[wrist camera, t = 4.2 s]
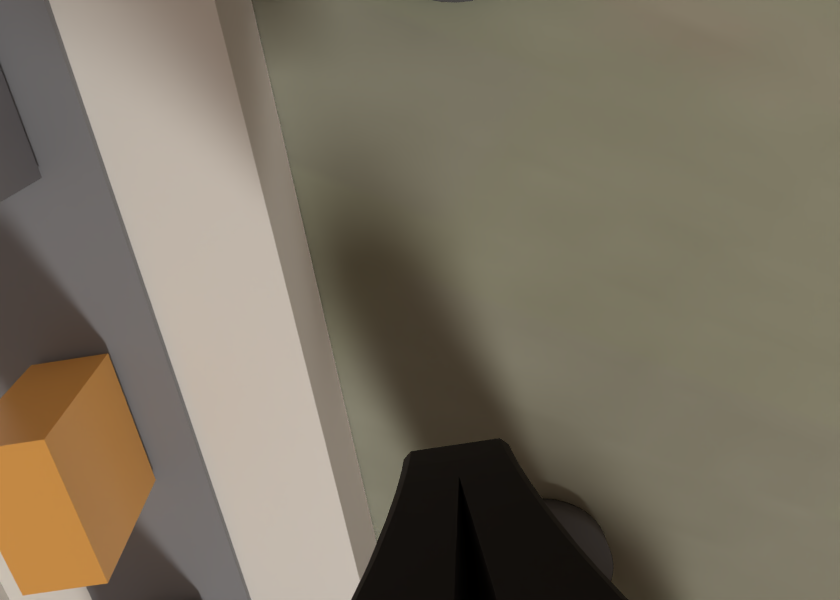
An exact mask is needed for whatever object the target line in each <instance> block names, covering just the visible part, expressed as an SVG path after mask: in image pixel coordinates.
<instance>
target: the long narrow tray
mask: <svg viewBox="0 0 840 600" xmlns="http://www.w3.org/2000/svg"><path fill="white" fill-rule="evenodd" d="M0 68H1V70H2V73H3V76H4V78H5V81H6V84H7V86H8V89H9V92H10V94H11V97H12V100H13V102H14V105H15V108H16V110H17V113H18V116H19V118H20V121H21V123H22V126H23V129H24V131H25V134H26V137H27V139H28V142H29V145H30V147H31V150H32V153H33V155H34V158H35V161H36V163H37V166H38V169H39V171H40V174H41V177H42V178H41V179H39V180H37V181H36V182H34V183H32V184H31V185H29V186H27V187H25V188H24V189H22V190H20V191H19V192H17V193H15V194H14V195H12V196H10V197H9V198H7V199H5V200H3V201H2V202H0V399H1V397H2V396H3V395H4V394H5V393H6V392H7V391H8V390H9V389H10V388H11V386H12V385H13V384H14V383H15V382H16V381H17V380H18V379H19V378H20V377H21V376H22V374H23V373H24V372H25V371H26V370H27V369H28V368H29V367H30V366H31V365H36V364H42V363H49V362H55V361H61V360H68V359H74V358H81V357H87V356H94V355H100V354H107V353H108V354H109V357H110V360H111V362H112V365H113V368H114V370H115V373H116V376H117V378H118V381H119V384H120V386H121V389H122V392H123V394H124V397H125V400H126V402H127V405H128V407H129V410H130V413H131V415H132V418H133V421H134V423H135V426H136V429H137V431H138V434H139V437H140V439H141V442H142V445H143V447H144V450H145V453H146V455H147V458H148V461H149V463H150V466H151V469H152V471H153V474H154V476H155V479H156V480H155V483H154V485H153V487H152V489H151V491H150V493H149V496H148V498H147V500H146V502H145V504H144V506H143V509H142V511H141V513H140V515H139V517H138V519H137V521H136V524H135V526H134V528H133V530H132V532H131V534H130V537H129V539H128V541H127V543H126V545H125V547H124V550H123V552H122V554H121V556H120V558H119V560H118V562H117V565H116V567H115V569H114V571H113V573H112V575H111V578H110V580H109V582H108V583H106V584H99V585H92V586H86V587H79V588H72V589H65V590H58V591H51V592H44V593H37V594H30V595H22V593H21V591H20V589H19V587H18V585H17V583H16V582H15V580H14V578H13V576H12V574H11V572H10V570H9V568H8V566H7V564H6V562H5V560H4V558H3V556H2V554H1V552H0V600H351V599H352V597H353V595H354V593H355V591H356V588H357V586H358V584H359V582H360V580H361V578H362V576H363V574H364V572H365V570H366V567H367V565H368V563H369V561H370V558H371V556H372V553H373V551H374V548H375V546H376V544H377V542H376V538H375V533H374V529H373V525H372V520H371V516H370V512H369V507H368V503H367V499H366V494H365V490H364V486H363V481H362V477H361V473H360V468H359V464H358V460H357V455H356V451H355V447H354V442H353V438H352V434H351V429H350V425H349V421H348V416H347V412H346V408H345V403H344V399H343V395H342V390H341V386H340V382H339V377H338V373H337V369H336V364H335V360H334V356H333V352H332V347H331V343H330V339H329V334H328V330H327V326H326V321H325V317H324V313H323V308H322V304H321V300H320V295H319V291H318V287H317V282H316V278H315V274H314V269H313V265H312V261H311V256H310V252H309V248H308V243H307V239H306V235H305V230H304V226H303V222H302V217H301V213H300V209H299V204H298V200H297V196H296V191H295V187H294V183H293V178H292V174H291V170H290V165H289V161H288V157H287V152H286V148H285V144H284V139H283V135H282V131H281V126H280V122H279V118H278V113H277V109H276V105H275V100H274V96H273V92H272V87H271V83H270V79H269V74H268V70H267V66H266V61H265V57H264V53H263V48H262V44H261V40H260V35H259V31H258V27H257V22H256V18H255V14H254V9H253V5H252V1H251V0H0Z"/></svg>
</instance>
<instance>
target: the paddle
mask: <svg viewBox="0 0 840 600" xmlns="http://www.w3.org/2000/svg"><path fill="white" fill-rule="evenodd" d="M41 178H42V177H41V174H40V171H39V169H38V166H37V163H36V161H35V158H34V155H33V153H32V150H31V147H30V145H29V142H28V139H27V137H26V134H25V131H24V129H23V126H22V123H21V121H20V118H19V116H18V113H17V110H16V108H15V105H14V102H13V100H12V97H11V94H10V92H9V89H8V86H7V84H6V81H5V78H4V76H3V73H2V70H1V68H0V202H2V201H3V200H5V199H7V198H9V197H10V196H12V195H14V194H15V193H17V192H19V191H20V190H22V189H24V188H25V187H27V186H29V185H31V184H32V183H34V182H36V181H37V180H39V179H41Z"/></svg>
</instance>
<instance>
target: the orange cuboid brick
mask: <svg viewBox="0 0 840 600" xmlns="http://www.w3.org/2000/svg"><path fill="white" fill-rule="evenodd" d="M155 480H156V479H155V476H154V474H153V471H152V469H151V466H150V463H149V461H148V458H147V455H146V453H145V450H144V447H143V445H142V442H141V439H140V437H139V434H138V431H137V429H136V426H135V423H134V421H133V418H132V415H131V413H130V410H129V407H128V405H127V402H126V400H125V397H124V394H123V392H122V389H121V386H120V384H119V381H118V378H117V376H116V373H115V370H114V368H113V365H112V362H111V360H110V357H109V354H108V353H107V354H100V355H94V356H87V357H81V358H74V359H68V360H61V361H55V362H49V363H42V364H36V365H31V366H30V367H29V368H28V369H27V370H26V371H25V372H24V373H23V374H22V376H21V377H20V378H19V379H18V380H17V381H16V382H15V383H14V384H13V385H12V386H11V388H10V389H9V390H8V391H7V392H6V393H5V394H4V395H3V396H2V397H1V399H0V552H1V554H2V556H3V558H4V560H5V562H6V564H7V566H8V568H9V570H10V572H11V574H12V576H13V578H14V580H15V582H16V583H17V585H18V587H19V589H20V591H21V593H22V595H30V594H37V593H44V592H51V591H58V590H65V589H72V588H79V587H86V586H92V585H99V584H106V583H108V582H109V580H110V578H111V575H112V573H113V571H114V569H115V567H116V565H117V562H118V560H119V558H120V556H121V554H122V552H123V550H124V547H125V545H126V543H127V541H128V539H129V537H130V534H131V532H132V530H133V528H134V526H135V524H136V521H137V519H138V517H139V515H140V513H141V511H142V509H143V506H144V504H145V502H146V500H147V498H148V496H149V493H150V491H151V489H152V487H153V485H154V483H155Z"/></svg>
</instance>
